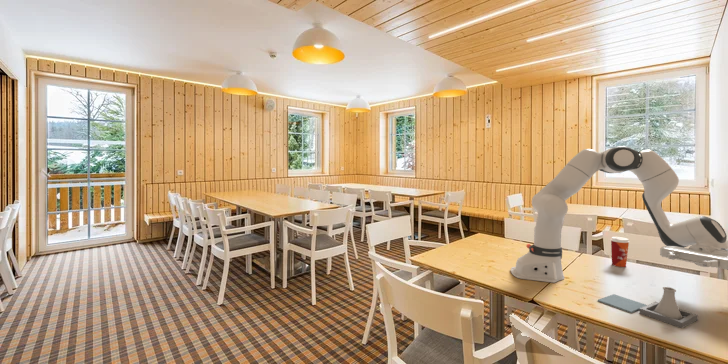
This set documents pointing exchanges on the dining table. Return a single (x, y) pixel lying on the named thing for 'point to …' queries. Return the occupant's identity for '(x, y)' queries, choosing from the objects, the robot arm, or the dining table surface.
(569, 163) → the robot arm
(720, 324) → the dining table surface
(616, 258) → the paper cup
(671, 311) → the flask
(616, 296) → the mat
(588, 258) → the dining table surface
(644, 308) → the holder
